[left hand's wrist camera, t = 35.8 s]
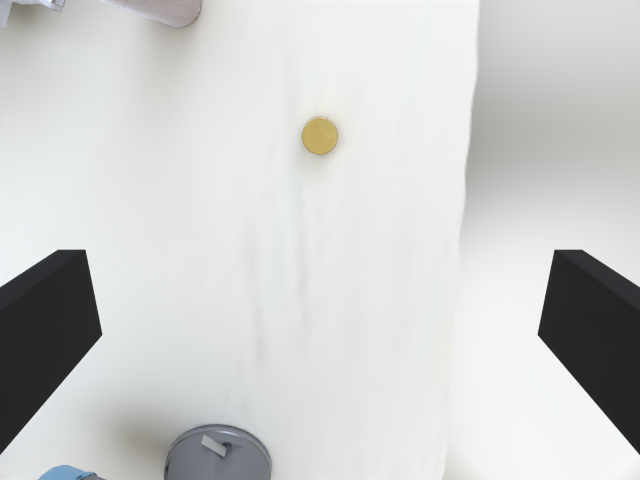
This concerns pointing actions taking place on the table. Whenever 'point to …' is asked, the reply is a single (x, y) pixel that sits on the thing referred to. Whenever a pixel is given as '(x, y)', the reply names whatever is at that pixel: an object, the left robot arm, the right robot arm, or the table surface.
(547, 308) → the left robot arm
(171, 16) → the bottle
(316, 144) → the cap
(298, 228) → the table surface
